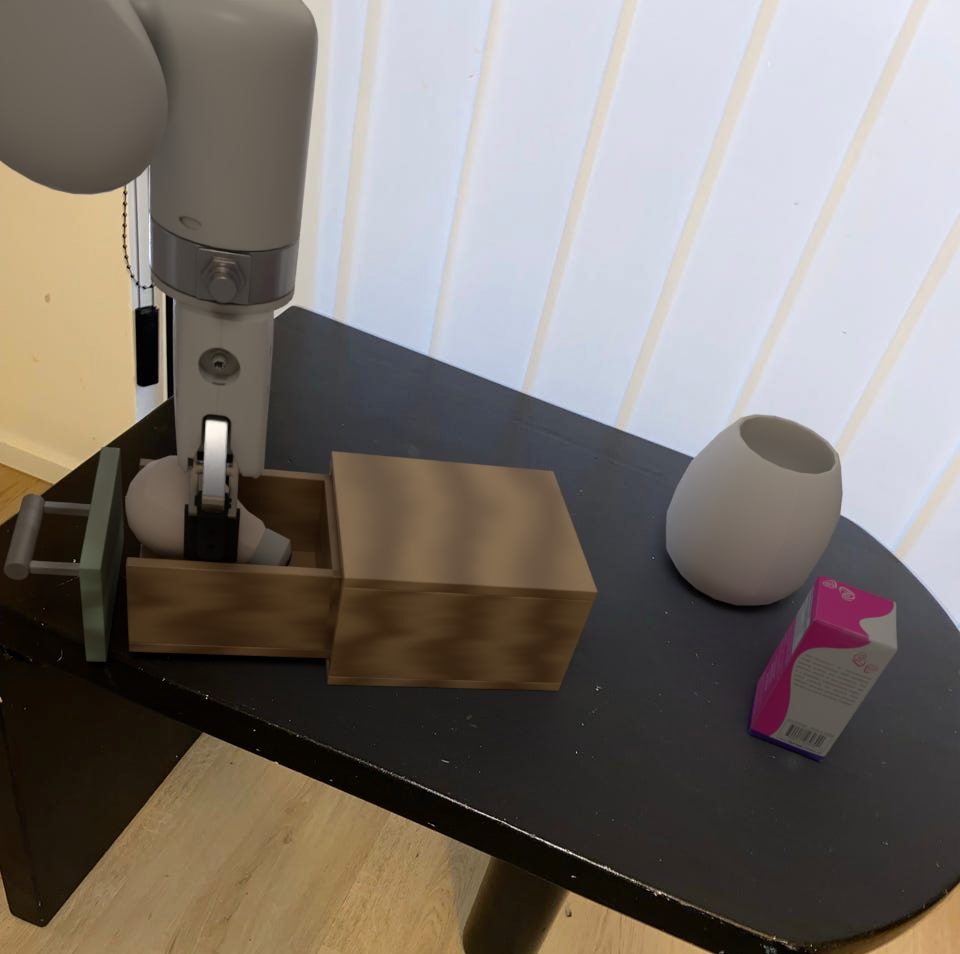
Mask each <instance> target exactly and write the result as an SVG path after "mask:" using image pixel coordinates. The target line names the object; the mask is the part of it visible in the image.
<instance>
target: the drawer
mask: <svg viewBox="0 0 960 954" xmlns="http://www.w3.org/2000/svg"><path fill="white" fill-rule="evenodd" d="M121 455H122V453H121V448H119V447H107V446H102V447H100V453H99V459H98V464H97V468H96V474H95V479H94V486H93V490H92V494H91V495H92V496H91V501H90V504H88V503H87V504H86V503H74V502H62V501H61V502H59V501H45V499H44V498H43V496H41V495H39V494H37V493H28V494H25V495H24V496H23V497H22V500H21V503H20V506H19V510H18V511H19V512H18V514H17V518H16V522H15V525H14V529H13V533H12V537H11V539H10V545H9V548H8V551H7V556H6V558H5V562H4V567H3V572H4V574H5V576H7V577H8V578H10V579H12V580H15V581H21V580H25V579H27V578H28V576H29V575H30V574H32V575H33V574H34V575H48V576H49V575H52V576H54V575H55V576H68V577H69V576H70V577H79V587H80V599H81V613H82V625H83V636H84V637H83V639H84V647H85V648H84V650H85V660H86V662H100V663H105V662H107V660H108V653H109V645H110V640H111V639H110V638H111V633H112V625H113V617H114V612H115V611H114V610H115V604H116V597H117V589H118V583H119V575H120V568H121V561H122V554H123V548H124V542H125V535H124V534H125V531H124V529H125V528H124V508H123V507H124V505H123V481H122V480H123V479H122V477H123V476H122V457H121ZM156 460H157V459H148V458H140V459H139V464H138V465H139V472H140V471H141V470H142V469H143V468H144V467H145V466H146V465H147V464H148V463H150V462H153V461H156ZM237 499H238V500H239V502H240V503H241V504H242V505H243V506H244V508H245V509H246V510H247V511H248V512H250V513H251V514H252V515H254V516H255V517H257V518H258V519H260V520H261V521H263V524H264V526H265V528H266V529H270V530H272V531H274V532H276V533H278V534H280V535H282V536H284V537H286V538H288V539H289V540H290V544H291V553H292V557H291V563H290V565H288V566H287V567H286V566H269V565H252V564H235V563H218V562H201V561H186V560H185V559H173V558H169V557H166V556H163V555H159V554H156V553H155V552H154V551H152V550H151V549H149V548H148V547H147V546H145V545H144V544H142V543H141V542H140V547H139V556H138V557H130V556H129V557H128V556H127V557H126V561H125V562H126V563H125V579H126V580H125V584H126V604H127V605H126V608H127V609H126V611H127V628H128V629H127V633H128V636H127V637H128V652H137V653H160V654H161V653H163V654H188V655H189V654H190V655H191V654H192V655H193V654H194V655H221V656H248V657H249V656H250V657H278V658H279V657H281V658H308V659H312V658H313V659H325V658H330V653H331V647H332V641H333V634H334V628H335V622H336V615H337V609H338V603H339V597H340V590H341V584H342V571H341V561H340V551H339V540H338V530H337V520H336V510H335V499H334V489H333V479H332V475H329V474H327V473H326V474H324V473H314V472H302V471H292V470H291V471H289V470H279V469H267V468H264V472H263V473H262V474H261V476H259V477H258V478H253V477H248V476H243V475H242V473H241V471H240V473H239V485H238V495H237ZM44 514H49V515H64V516H75V517H76V516H78V517H88V518H87V522H86V527H85V533H84V538H83V543H82V549H81V554H80V560H79V562H60V561H44V560H43V561H42V560H33V559H34V555H35V550H36V546H37V541H38V537H39V533H40V530H41V525H42V521H43V518H44V517H43V516H44Z"/></svg>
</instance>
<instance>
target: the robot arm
mask: <svg viewBox="0 0 960 954" xmlns="http://www.w3.org/2000/svg"><path fill="white" fill-rule="evenodd" d="M318 51H319V33H318V28H317V23H316V19H315V17H314V15H313V12H312V10H310V8H309V7H308V6H307V5H306V4H305V2H304V1H303V0H0V162H1V163H2V164H4V165H5V166H6V167H8V168H9V169H11V170H12V171H13V172H16V173H17V174H19V175H21V177H22V176H23V177H24V178H26V179H28V180H29V181H31V182H33V183H35V184H38V185H40V186H43V187H45V188H48V189H50V190H52V191H57V192H61V193H67V194H70V195H78V196H79V195H80V196H81V195H82V196H83V195H84V196H94V195H100V194H106V193H111V192H113V191H115V190H119V189H121V188H123V187H126V186H127V185H129V184H130V183H132V182H133V181H135V180H136V179H138V178H139V177H140V176H141V175H142V174H144V172H145V171H146V170H147V169H148V209H149V211H148V226H149V227H148V235H149V236H148V244H149V245H148V248H149V250H148V251H149V256H148V257H149V258H148V259H149V277H150V280H151V282H152V283H153V284H154V286H155V287H156V288H157V289H158V290H159V291H161V292H162V293H163V294H165V295H166V296H168V297H169V298H171V299H172V375H173V376H172V379H173V380H172V381H173V405H174V406H173V407H174V424H175V441H176V454H177V455H176V456H178V464H179V466H180V467H181V468H182V469H183V470H185V471H186V472H188V468H189V470H190V482H189V504H185V509H184V552H183V557H184V559H185V560H186V561H201V562H218V563H235V562H236V561H237V553H238V539H239V525H240V508H237V495H238V485H239V473H240V471H241V473H242V475H243V476H248V477H253V478H258V477H259V476H261V474H262V473H263V472H264V469H265V461H266V445H267V433H268V432H267V431H268V419H269V418H268V417H269V407H270V405H269V404H270V393H271V381H272V369H273V368H272V365H273V354H274V353H273V352H274V333H275V332H274V331H275V311H276V310H279V309H281V308H283V307H285V306H287V305H288V304H289V303H290V302H291V301H292V300H293V298H294V295H295V291H296V281H297V270H298V259H299V249H300V239H301V230H302V229H301V228H302V218H303V207H304V198H305V188H306V187H305V186H306V178H307V168H308V157H309V146H310V137H311V126H312V117H313V106H314V96H315V86H316V77H317V65H318V56H319V55H318V54H319V52H318ZM199 474H203V486H202V491H201V490H199ZM225 483H226V485H227V486H228V488H229V491H228V493H225ZM198 492H199V493H198Z"/></svg>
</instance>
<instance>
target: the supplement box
mask: <svg viewBox="0 0 960 954" xmlns="http://www.w3.org/2000/svg"><path fill="white" fill-rule="evenodd" d="M897 634H898V633H897V602H896V601H893V600H892V599H891V600H890V599H888V598H884V597H882V596H880V595H877V594H875V593H871V592H869V591H866V590H863V589H860V588H857V587H855V586H852V585H849V584H847V583H844V582H841V581H838V580H835V579H833V578H830V577H827V576H825V575H822V574H820V575H818V577H816V579H815V581H814V583H813V585H812V587H811V588H810V590H809V592H808V593H807V594H806V597H805V598H804V601H803V602H802V604H801V606H800V607H799V608H798V611H797V613H796V614H795V616H794V618H793V619H792V621H791V623H790V625H789V626H788V628H787V630H786V632H785V634H784V636H783V637H782V639H781V641H780V643H779V644H778V646H777V648H776V649H775V650H774V653H773V654H772V657H771V658H770V660H769V662H768V663H767V665H766V667H765V669H764V671H763V672H762V674H761V676H760V677H759V679H758V681H757V683H756V684H755V688H754V689H755V690H754V695H753V700H752V706H751V712H750V717H749V724H748V731H747V734H748V735H751V736H753V737H756V738H758V739H761V740H763V741H766V742H768V743H771V744H774V745H776V746H779V747H781V748H784V749H786V750H789V751H792V752H793V753H797V754H799V755H802V756H804V757H807V758H809V759H812V760H814V761H817V762H820V763H822V761H823V760H824V758H825V757H826V756H827V755H828V753H829V752H830V750H831V749H832V747H833V745H834V744H835V743H836V741H837V739H838V738H839V737H840V736H841V734H842V732H843V731H844V730H845V728H846V727H847V725H848V724H849V722H850V721H851V719H852V718H853V716H854V715H855V714H856V712H857V710H858V709H859V707H860V706H861V704H862V703H863V701H864V700H865V698H867V696H868V694H869V693H870V691H871V690H872V689H873V686H874V685H875V684H876V682H877V681H878V680H879V678H880V677H881V675H882V674H883V672H884V670H885V669H886V667H887V666H889V665H888V664H890V662H891V661H892V659H893V657H894V656H895V654H896V653H897V651H898V637H897Z"/></svg>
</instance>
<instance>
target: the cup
mask: <svg viewBox="0 0 960 954" xmlns="http://www.w3.org/2000/svg"><path fill="white" fill-rule="evenodd" d="M841 464H842V463H841V460H840V455H839V453H838V452H837V450H836V449H835V447H833V446H832V444H831V443H830V442H829V441H828V440H827V439H825V438H824V437H822V436H821V435H820V434H819V433H817V432H816V431H815V430H813V429H811V428H809V427H808V426H805V425H803V424H801V423H799V422H797V421H794V420H791V419H788V418H784V417H780V416H777V415H771V414H758V413H754V414H749V415H745V416H741V417H740V418H738V419H737V420H736V421H734V422H732V423H731V424H730V425H728V426H727V427H726V428H724V429H723V430H721V431H719V433H718V434H716V436H715V437H713V438H712V440H711V441H709V443H708V444H706V446H704V447H703V448H702V450H700V452H698V454H696V456H695V457H694V458H693V459H691V461H690V463H689V464H688V466H687V468H686V470H685V472H684V473H683V475H682V477H681V479H680V480H679V482H678V484H677V485H676V488H675V489H674V493H673V495H672V498H671V501H670V503H669V505H668V508H667V510H666V519H665V520H666V521H665V549H666V551H667V554H668V555H669V557H670V559H671V560H672V562H673V564H674V566H675V568H676V569H677V571H678V572H679V574H680V575H681V576H682V577H683V578H684V579H685V580H686V581H687V582H688V583H689V584H690V585H691V586H692V587H693V588H695V590H696V591H697V590H698V591H699V592H701V593H702V594H705V595H706V596H708V597H710V598H712V599H713V600H716V601H720V602H723V603H726V604H731V605H733V606H764V605H771V604H772V603H776V602H779V601H780V600H783V599H786V598H787V597H789V596H791V595H792V594H793V593H794V592H796V591H797V590H798V589H800V588H801V587H803V586H804V585H805V584H806V582H807V580H809V577H810V576H811V574H812V572H813V571H814V569H815V567H816V566H817V564H818V563H819V561H820V560H821V558H822V556H823V554H824V553H825V551H826V549H827V548H828V547H829V545H830V542H831V541H832V538H833V535H834V533H835V531H836V528H837V526H838V524H839V522H840V519H841V513H842V512H841V511H842V504H843V495H844V494H843V492H844V490H843V477H842V465H841Z"/></svg>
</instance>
